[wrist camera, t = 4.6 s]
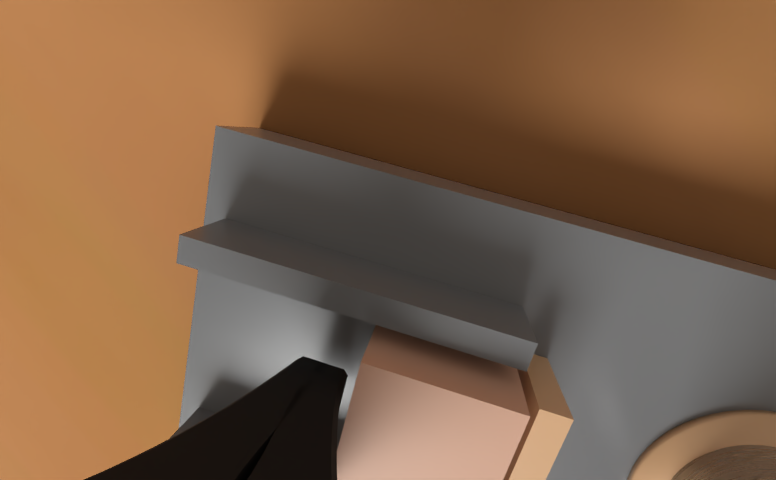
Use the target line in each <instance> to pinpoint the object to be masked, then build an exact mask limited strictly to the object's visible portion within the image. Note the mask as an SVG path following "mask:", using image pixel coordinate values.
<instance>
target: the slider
mask: <svg viewBox="0 0 776 480" xmlns="http://www.w3.org/2000/svg"><path fill="white" fill-rule="evenodd" d="M529 419H530V413H529V410H528V406H527V402H526V399H525V395H524V392H523V388H522V385H521V381H520V377H519V374H518V370H517V369H516V368H513V367H510V366H506V365H503V364H500V363H497V362H494V361H490V360H487V359H484V358H481V357H477V356H474V355H471V354H468V353H465V352H461V351H458V350H455V349H452V348H448V347H445V346H442V345H439V344H436V343H432V342H429V341H426V340H423V339H420V338H416V337H413V336H410V335H407V334H403V333H400V332H397V331H394V330H391V329H387V328H384V327H381V326H378V325H376V326H375V329H374V331H373V334H372V336H371V338H370V341H369V343H368V346H367V348H366V351H365V353H364V356H363V358H362V361H361V363H360V367H359V371H358V375H357V378H356V382H355V386H354V389H353V393H352V397H351V401H350V404H349V408H348V412H347V415H346V419H345V423H344V427H343V430H342V434H341V438H340V441H339V445H338V449H337V480H503V479H504V477H505V474H506V472H507V470H508V467H509V465H510V463H511V461H512V458H513V456H514V454H515V451H516V449H517V447H518V444H519V442H520V440H521V437H522V435H523V433H524V430H525V428H526V426H527V423H528V421H529Z"/></svg>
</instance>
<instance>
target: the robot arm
mask: <svg viewBox="0 0 776 480" xmlns="http://www.w3.org/2000/svg"><path fill="white" fill-rule="evenodd" d="M347 377H348V375H347V373H346V372H345V370H344V369H342V368H339V367H335V366H332V365H329V364H326V363H323V362H320V361H317V360H314V359H311V358H307V357H304V356H303V357H301V358H299V359H297V360H295V361H294V362H293V363H291V364H290V365H288V366H287V367H286V368H284V369H283V370H281V371H280V372H279V373H277V374H276V375H274V376H273V377H271V378H270V379H268V380H267V381H265V382H264V383H262V384H261V385H260V386H258V387H257V388H255V389H253V390H252V391H250V392H249V393H247V394H246V395H244V396H242V397H241V398H239V399H238V400H236V401H235V402H233V403H231V404H230V405H228V406H227V407H225V408H223V409H222V410H220V411H218V412H217V413H215V414H213V415H211V416H210V417H208V418H206V419H204V420H203V421H201V422H199V423H197V424H196V425H194V426H192V427H190V428H189V429H187V430H185V431H183V432H181V433H180V434H178V435H176V436H174V437H172V438H170V439H168V440H167V441H165V442H163V443H161V444H159V445H157V446H155V447H153V448H151V449H149V450H147V451H145V452H143V453H141V454H139V455H137V456H135V457H133V458H131V459H128V460H126V461H124V462H122V463H120V464H118V465H116V466H114V467H112V468H109V469H107V470H105V471H103V472H101V473H98V474H96V475H94V476H91V477H89V478H87V479H84V480H337V430H338V415H339V408H340V404H341V400H342V396H343V392H344V388H345V385H346V381H347Z"/></svg>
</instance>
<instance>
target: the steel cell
mask: <svg viewBox="0 0 776 480" xmlns="http://www.w3.org/2000/svg"><path fill="white" fill-rule="evenodd" d="M671 480H776V447H772V446H765V445H738V446H731V447H726V448H722V449H718V450H714V451H712V452H709V453H706V454H704V455H702V456H700V457H698V458H696V459H694V460H692V461H691V462H689V463H688V464H686V465H685V466H684V467H683V468H681V469H680V470H679V471H678V472H677V473H676V474H675V475H674V476H673V478H672V479H671Z"/></svg>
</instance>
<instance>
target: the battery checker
mask: <svg viewBox="0 0 776 480" xmlns="http://www.w3.org/2000/svg"><path fill="white" fill-rule="evenodd" d="M177 263H178V264H181V265H185V266H188V267H191V268H194V269H197V270H198V276H197V284H196V293H195V301H194V309H193V317H192V325H191V333H190V342H189V350H188V358H187V366H186V374H185V382H184V391H183V399H182V407H181V415H180V423H179V429H178V430H177V431H176V432H175V433H174V434H173V435H172V436H171V438H172V437H174V436H176V435H178V434H180V433H181V432H183V431H185V430H187V429H189V428H190V427H192V426H194V425H196V424H197V423H199V422H201V421H203V420H204V419H206V418H208V417H210V416H211V415H213V414H215V413H217V412H218V411H220V410H222V409H223V408H225V407H227V406H228V405H230V404H231V403H233V402H235V401H236V400H238V399H239V398H241V397H242V396H244V395H246V394H247V393H249V392H250V391H252V390H253V389H255V388H257V387H258V386H260V385H261V384H262V383H264V382H265V381H267V380H268V379H270V378H271V377H273V376H274V375H276V374H277V373H279V372H280V371H281V370H283V369H284V368H286V367H287V366H288V365H290V364H291V363H293V362H294V361H295V360H297V359H299V358H301V357H303V356H304V357H307V358H311V359H314V360H317V361H320V362H323V363H326V364H329V365H332V366H335V367H339V368H342V369H344V370H345V372H346V373H347V375H348V377H347V381H346V385H345V388H344V392H343V396H342V400H341V404H340V408H339V415H338V430H337V449H338V445H339V441H340V438H341V434H342V430H343V427H344V423H345V419H346V415H347V412H348V408H349V404H350V401H351V397H352V393H353V389H354V386H355V382H356V378H357V375H358V371H359V367H360V363H361V361H362V358H363V356H364V353H365V351H366V348H367V346H368V343H369V341H370V338H371V336H372V334H373V331H374V329H375V326H376V325H378V326H381V327H384V328H387V329H391V330H394V331H397V332H400V333H403V334H407V335H410V336H413V337H416V338H420V339H423V340H426V341H429V342H432V343H436V344H439V345H442V346H445V347H448V348H452V349H455V350H458V351H461V352H465V353H468V354H471V355H474V356H477V357H481V358H484V359H487V360H490V361H494V362H497V363H500V364H503V365H506V366H510V367H513V368H516V369H517V370H518V374H519V377H520V381H521V385H522V388H523V392H524V395H525V399H526V402H527V406H528V410H529V413H530V419H529V421H528V423H527V426H526V428H525V430H524V433H523V435H522V437H521V440H520V442H519V444H518V447H517V449H516V451H515V454H514V456H513V458H512V461H511V463H510V465H509V467H508V470H507V472H506V474H505V477H504V479H503V480H671V479H672V478H673V476H674V475H675V474H676V473H677V472H678V471H679V470H680V469H681V468H683V467H684V466H685V465H686V464H688V463H689V462H691V461H692V460H694V459H696V458H698V457H700V456H702V455H704V454H706V453H709V452H712V451H714V450H718V449H722V448H726V447H731V446H738V445H765V446H772V447H776V270H775V269H772V268H768V267H764V266H761V265H757V264H753V263H750V262H746V261H742V260H739V259H735V258H731V257H728V256H724V255H720V254H717V253H713V252H710V251H706V250H702V249H699V248H695V247H691V246H688V245H684V244H680V243H677V242H673V241H669V240H666V239H662V238H658V237H655V236H651V235H648V234H644V233H640V232H637V231H633V230H629V229H626V228H622V227H618V226H615V225H611V224H607V223H604V222H600V221H596V220H593V219H589V218H586V217H582V216H578V215H575V214H571V213H567V212H564V211H560V210H556V209H553V208H549V207H545V206H542V205H538V204H535V203H531V202H527V201H524V200H520V199H516V198H513V197H509V196H505V195H502V194H498V193H494V192H491V191H487V190H483V189H480V188H476V187H473V186H469V185H465V184H462V183H458V182H454V181H451V180H447V179H443V178H440V177H436V176H432V175H429V174H425V173H421V172H418V171H414V170H411V169H407V168H403V167H400V166H396V165H392V164H389V163H385V162H381V161H378V160H374V159H370V158H367V157H363V156H359V155H356V154H352V153H349V152H345V151H341V150H338V149H334V148H330V147H327V146H323V145H319V144H316V143H312V142H308V141H305V140H301V139H297V138H294V137H290V136H287V135H283V134H279V133H276V132H272V131H268V130H265V129H261V128H251V127H230V126H216V129H215V137H214V145H213V154H212V162H211V170H210V178H209V186H208V194H207V203H206V211H205V219H204V226H202V227H200V228H197V229H194V230H191V231H188V232H186V233H183V234H180V235H179V245H178V254H177Z"/></svg>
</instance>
